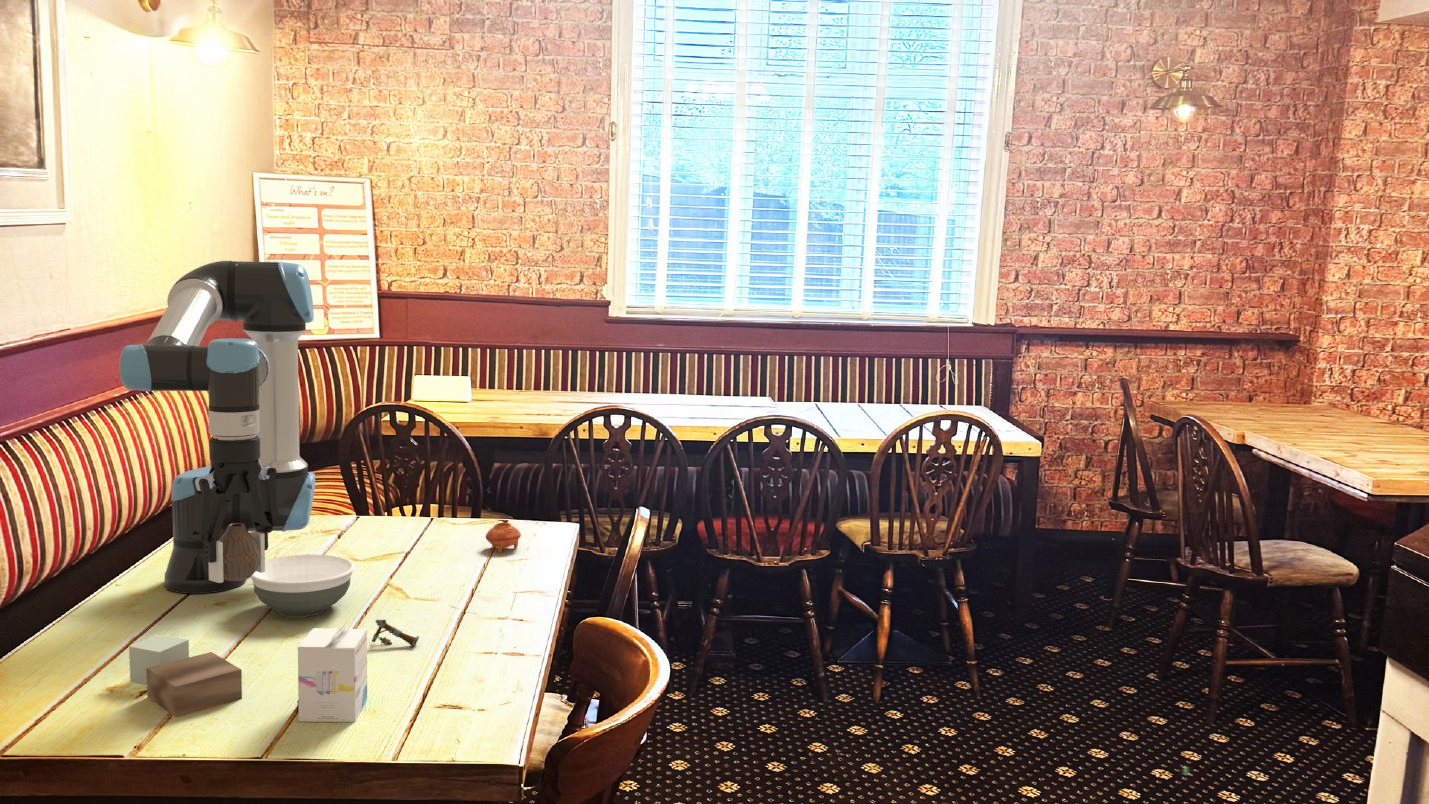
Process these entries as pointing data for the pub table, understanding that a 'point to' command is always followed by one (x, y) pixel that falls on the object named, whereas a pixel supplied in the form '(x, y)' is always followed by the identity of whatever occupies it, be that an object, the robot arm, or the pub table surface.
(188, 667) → the plinth
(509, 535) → the pot
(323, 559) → the bowl
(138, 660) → the sage cube
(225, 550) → the vase
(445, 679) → the pub table surface
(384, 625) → the wooden post with brackets
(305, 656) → the ink box
